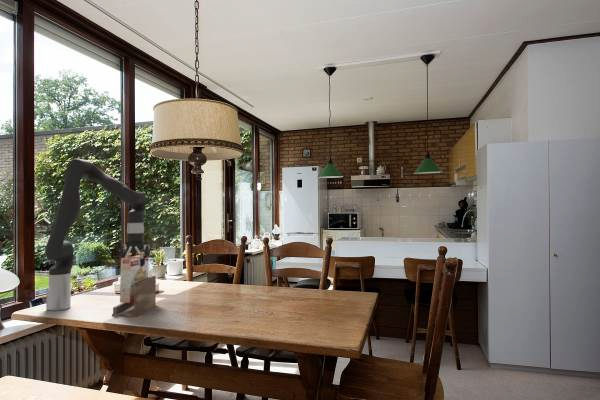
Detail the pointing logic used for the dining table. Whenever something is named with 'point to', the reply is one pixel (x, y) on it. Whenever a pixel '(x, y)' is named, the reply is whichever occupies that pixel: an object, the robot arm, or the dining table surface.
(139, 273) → the cracker box
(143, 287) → the grey l-shaped bracket
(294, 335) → the dining table surface
